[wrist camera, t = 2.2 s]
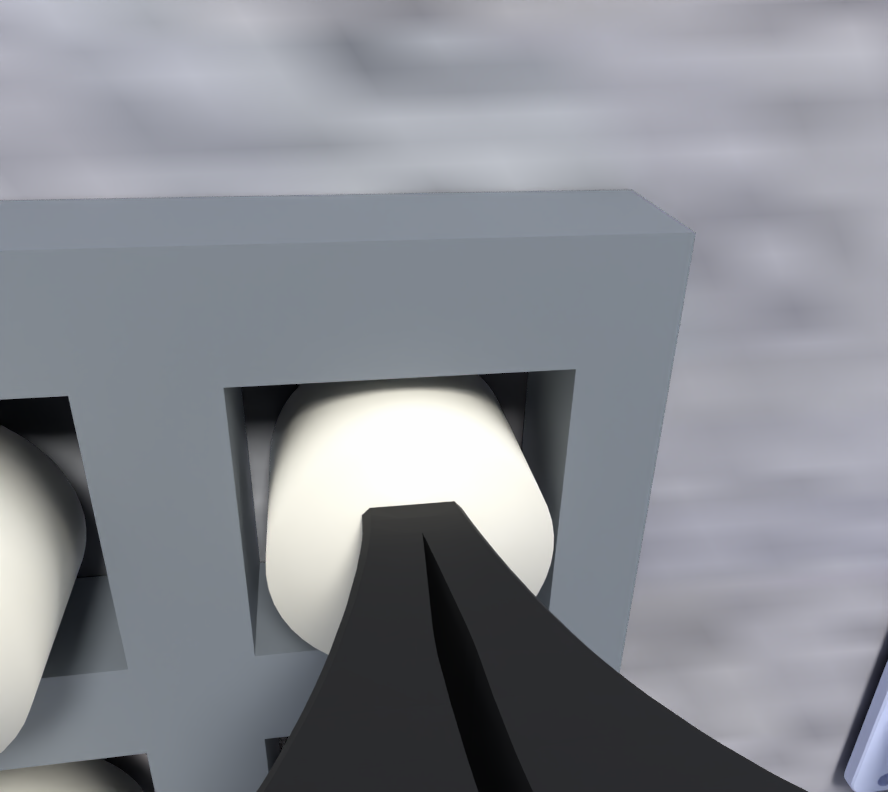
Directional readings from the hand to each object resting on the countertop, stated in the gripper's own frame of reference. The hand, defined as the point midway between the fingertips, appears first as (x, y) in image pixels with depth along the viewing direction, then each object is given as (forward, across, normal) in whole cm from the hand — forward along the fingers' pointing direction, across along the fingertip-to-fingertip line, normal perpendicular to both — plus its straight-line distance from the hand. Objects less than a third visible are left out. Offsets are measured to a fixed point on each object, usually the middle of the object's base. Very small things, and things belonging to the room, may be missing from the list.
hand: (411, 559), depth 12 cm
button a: (+3, 0, 0) cm, 3 cm away
